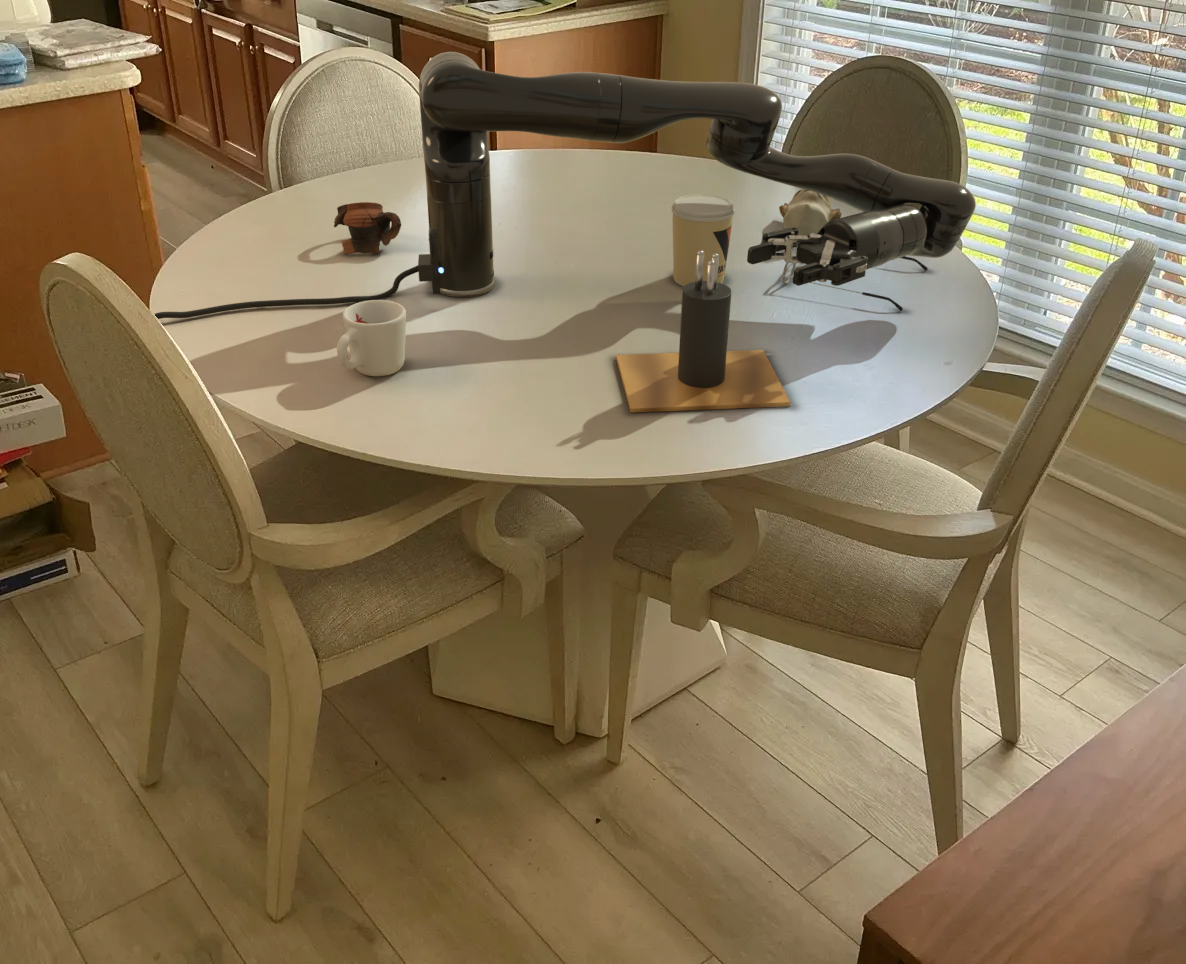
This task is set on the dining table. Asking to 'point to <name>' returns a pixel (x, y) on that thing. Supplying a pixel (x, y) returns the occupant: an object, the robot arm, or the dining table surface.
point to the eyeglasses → (850, 290)
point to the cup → (373, 337)
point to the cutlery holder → (704, 327)
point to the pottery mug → (367, 226)
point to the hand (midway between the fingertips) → (771, 266)
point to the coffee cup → (700, 234)
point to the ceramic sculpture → (808, 212)
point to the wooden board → (661, 390)
